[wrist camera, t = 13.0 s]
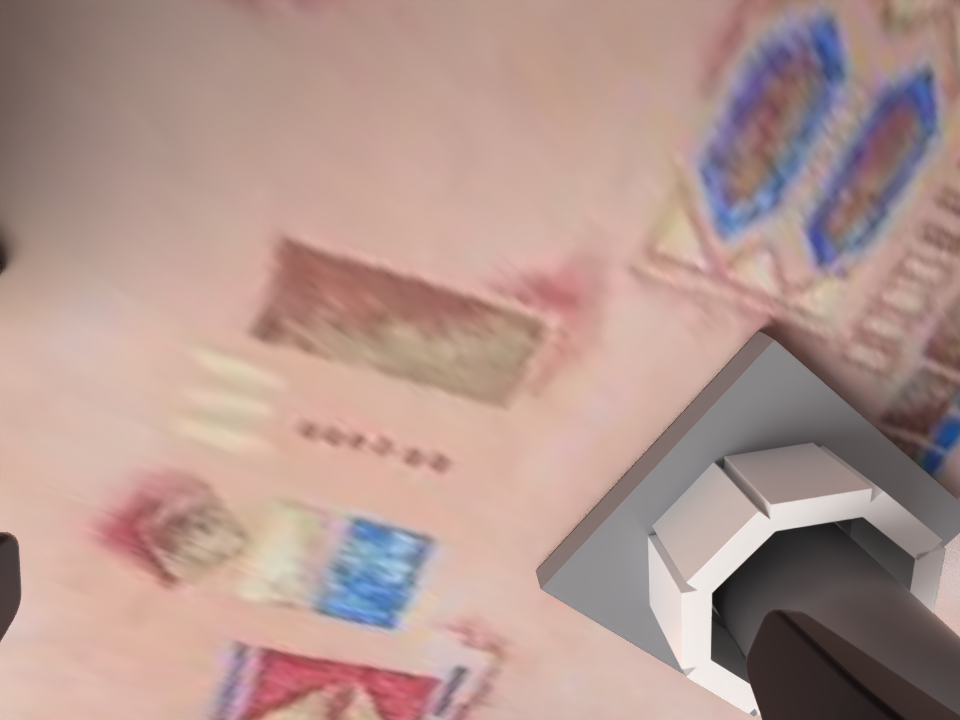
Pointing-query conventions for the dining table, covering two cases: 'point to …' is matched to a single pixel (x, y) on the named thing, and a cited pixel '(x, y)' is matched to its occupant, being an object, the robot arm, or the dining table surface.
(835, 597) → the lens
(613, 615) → the stand
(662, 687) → the dining table surface
